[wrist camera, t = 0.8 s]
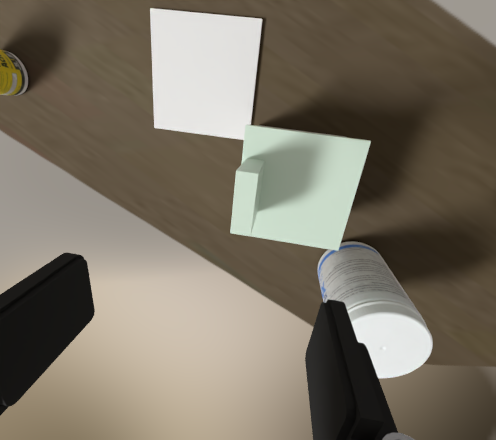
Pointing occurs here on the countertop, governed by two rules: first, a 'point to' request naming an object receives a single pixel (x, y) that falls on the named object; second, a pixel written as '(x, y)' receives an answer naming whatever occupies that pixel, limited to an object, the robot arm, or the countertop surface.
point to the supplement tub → (376, 308)
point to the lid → (296, 185)
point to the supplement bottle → (12, 74)
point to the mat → (204, 71)
